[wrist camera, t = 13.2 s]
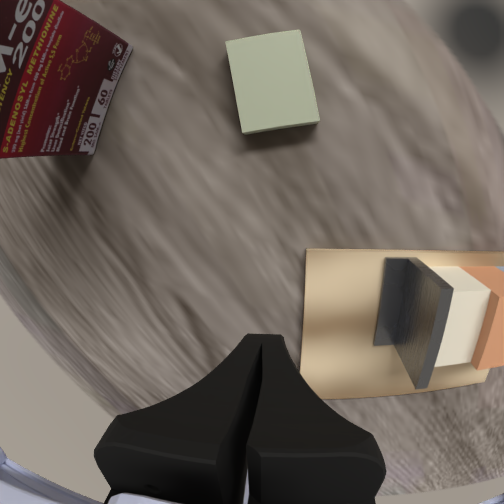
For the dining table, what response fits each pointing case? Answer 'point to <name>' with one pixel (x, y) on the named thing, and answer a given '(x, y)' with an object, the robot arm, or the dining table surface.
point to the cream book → (462, 316)
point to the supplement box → (54, 78)
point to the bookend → (413, 315)
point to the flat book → (272, 82)
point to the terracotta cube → (490, 319)
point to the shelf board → (366, 324)
